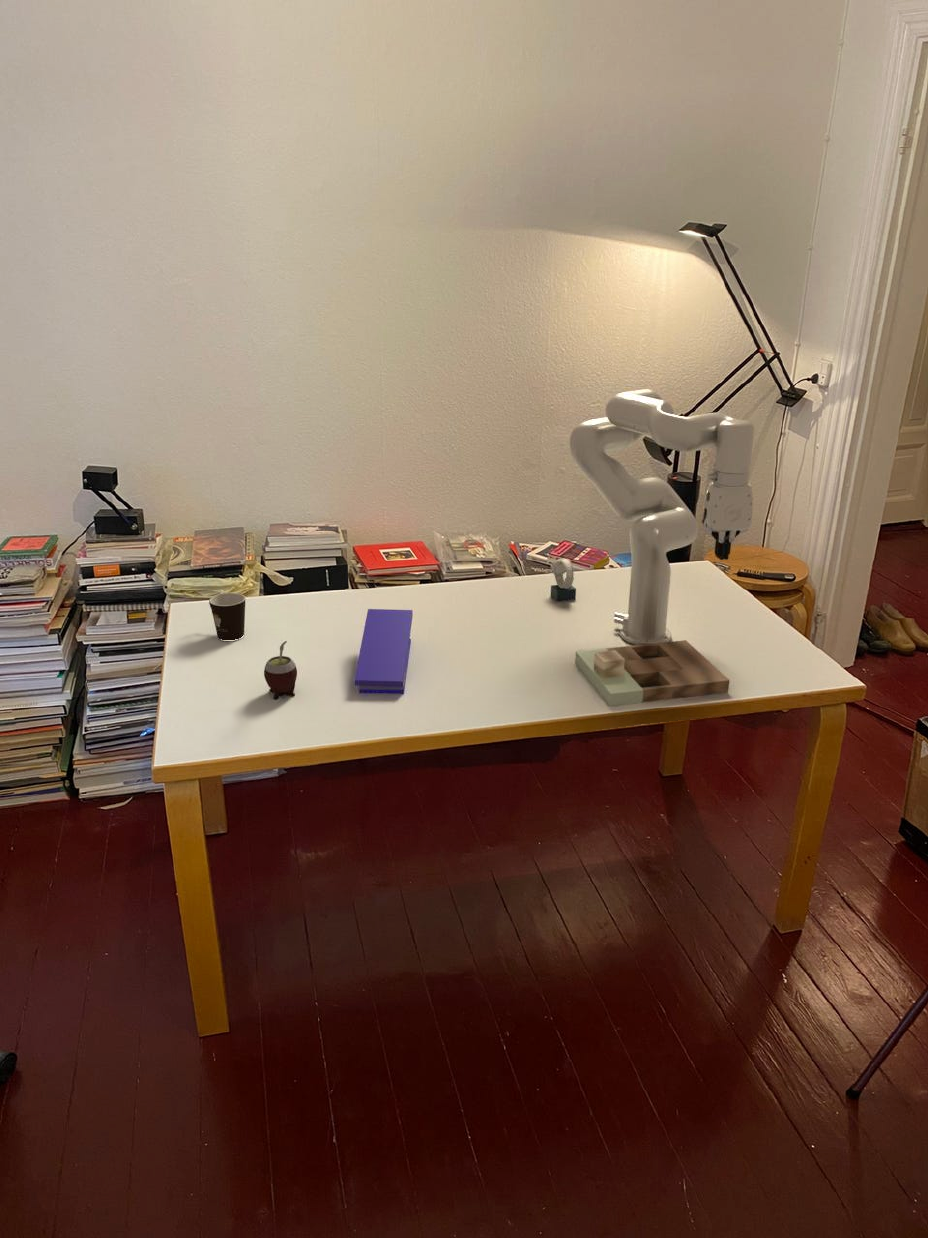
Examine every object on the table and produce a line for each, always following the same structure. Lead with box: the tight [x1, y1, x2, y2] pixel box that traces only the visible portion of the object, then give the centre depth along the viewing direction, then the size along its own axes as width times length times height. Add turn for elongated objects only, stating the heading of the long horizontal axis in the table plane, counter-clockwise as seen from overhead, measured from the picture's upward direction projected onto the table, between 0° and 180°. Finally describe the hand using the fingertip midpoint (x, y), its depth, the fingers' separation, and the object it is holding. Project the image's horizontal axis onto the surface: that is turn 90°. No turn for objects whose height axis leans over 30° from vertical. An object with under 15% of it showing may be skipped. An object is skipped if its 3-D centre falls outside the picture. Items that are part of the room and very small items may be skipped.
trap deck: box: [606, 640, 731, 703], centre depth 229 cm, size 20×22×3 cm
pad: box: [574, 647, 643, 707], centre depth 226 cm, size 8×22×3 cm, turn 14°
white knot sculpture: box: [550, 557, 577, 603], centre depth 271 cm, size 6×8×11 cm
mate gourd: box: [263, 640, 298, 701], centre depth 217 cm, size 8×8×15 cm
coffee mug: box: [208, 592, 246, 640], centre depth 247 cm, size 12×9×10 cm
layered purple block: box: [353, 608, 414, 695], centre depth 231 cm, size 12×28×10 cm, turn 0°
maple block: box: [594, 650, 625, 678], centre depth 223 cm, size 5×5×4 cm
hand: (721, 557), depth 223 cm, fingers closed
